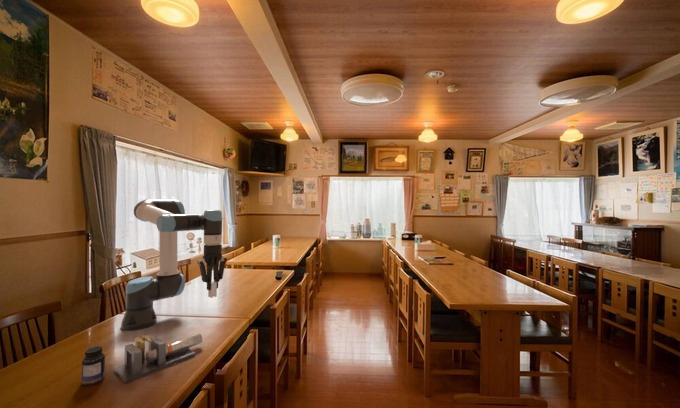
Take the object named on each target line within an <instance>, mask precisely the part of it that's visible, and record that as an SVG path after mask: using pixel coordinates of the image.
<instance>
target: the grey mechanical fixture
mask: <svg viewBox="0 0 680 408" xmlns="http://www.w3.org/2000/svg"><path fill="white" fill-rule="evenodd" d="M149 338H150V339H151V342H148V351H151V350H154V349H156V360H155V361H153V362H150V363H148V362H147V359H146V356H145V359H144V360H142V351H141V350H140V349H139V348H137V347H136V346H135V343H134V344H133V343H130V344H125V345H124V363H123V364H122V365H120V366H117V367H115V368H113V371H114V373H115V374H116V375H117V377H119V378H120V380H121V381H123V383H124V384H125V385H126V384H128V383H131V382H134V381H136V380H139V379H140V378H143V377H146V376H148V375H151V374H153V373H155V372H158V371H160V370H163V369H165V368H168V367H170V366H174V365H176V364H178V363H180V362H182V361H186V360H188V359H190V358H193V357H195V356H196V352H195V351H194V350H192V349H190V348H187V349H185V350H182V351H179V352H177V353H174V354H172V355H170V356H166V345H167V342H165V341H164V340H162V339H161V338H159V337H157V336H156V335H155V336H152V337H149ZM175 363H176V364H175Z"/></svg>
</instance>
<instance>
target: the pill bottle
mask: <svg viewBox="0 0 680 408" xmlns="http://www.w3.org/2000/svg"><path fill="white" fill-rule="evenodd" d="M105 368H106V355H105V353H104V352H103V346H100V345H99V346H98V345H95V346H91V347H88V348H87V349H85V350H84V358H82V360H81V382H82V383H81V385H82V386H92V385H95V384H98V383H100V382H101V381H103V380H104V378H105V377H106V376H105V374H106V372H105V370H106V369H105Z"/></svg>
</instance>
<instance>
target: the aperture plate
mask: <svg viewBox="0 0 680 408" xmlns="http://www.w3.org/2000/svg"><path fill="white" fill-rule="evenodd" d="M150 338H151V337H148V336H147V335H142V336H141V337H139V336H137V337H135V340H134V345H135V346H136V347H137V348H139V349H140V350H141V351H142V360H144V359H145V357H146V342H148V343H149V342H151V339H150Z"/></svg>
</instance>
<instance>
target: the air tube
mask: <svg viewBox="0 0 680 408" xmlns="http://www.w3.org/2000/svg"><path fill="white" fill-rule="evenodd" d="M202 343H203V335H202V334H201V333H197V334H195V335H192V336H189V337H186V338H183V339H180V340H178V341H174V342H172V343H166V356H170V355H172V354H174V353H177V352H179V351H182V350H185V349H187V348H189V349H190V348H192V347H195V346H198V345H200V344H202ZM145 357H146V359H147V362H148V363H150V362H153V361H155V360H156V349H154V350H151V351H149V350H148V351H147V352H145Z"/></svg>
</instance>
